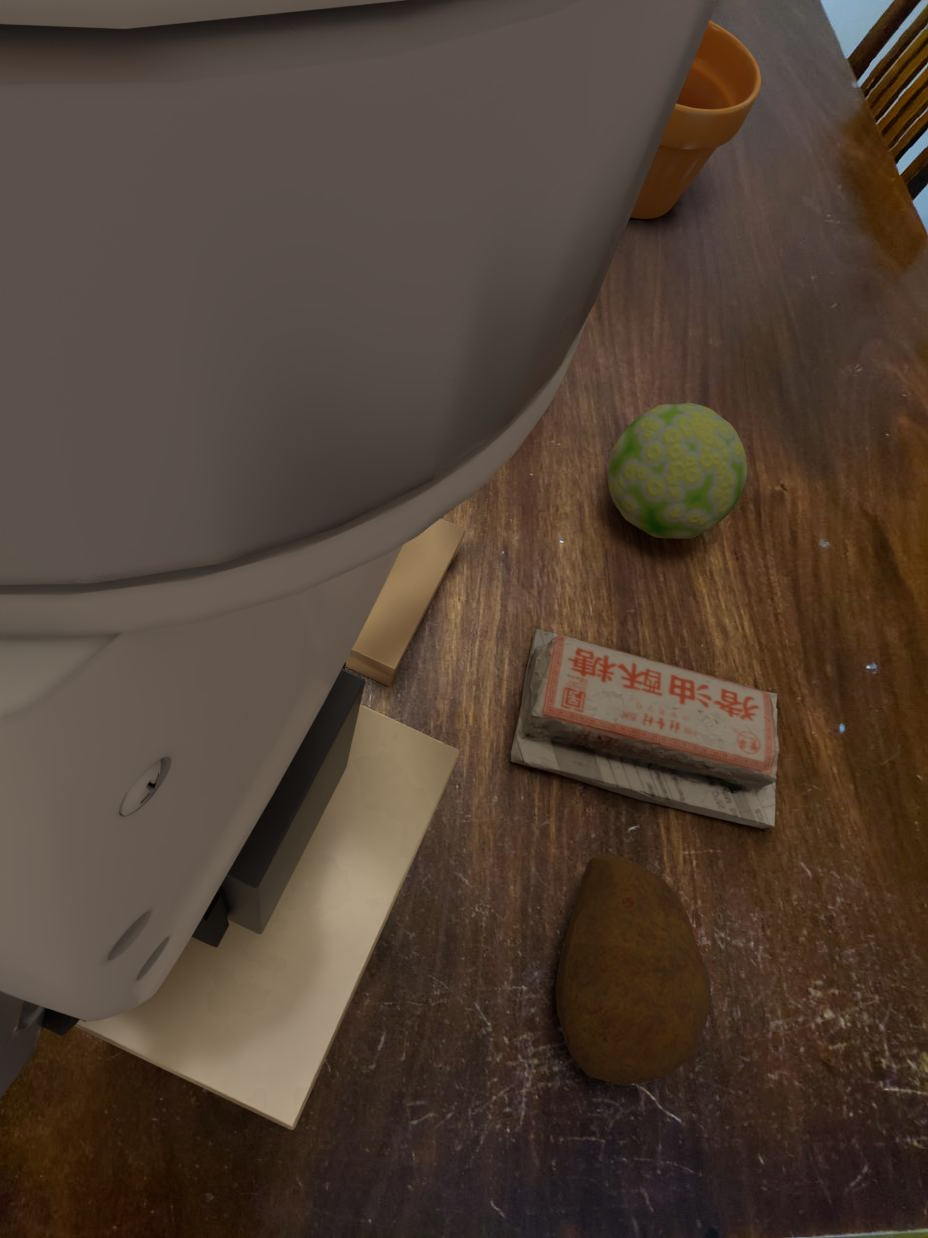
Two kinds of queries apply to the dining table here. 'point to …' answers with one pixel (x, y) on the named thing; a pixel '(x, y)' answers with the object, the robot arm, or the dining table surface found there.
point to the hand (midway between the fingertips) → (218, 800)
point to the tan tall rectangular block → (297, 939)
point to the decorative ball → (677, 470)
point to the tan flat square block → (404, 601)
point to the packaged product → (649, 730)
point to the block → (293, 809)
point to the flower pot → (700, 118)
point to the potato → (630, 976)
